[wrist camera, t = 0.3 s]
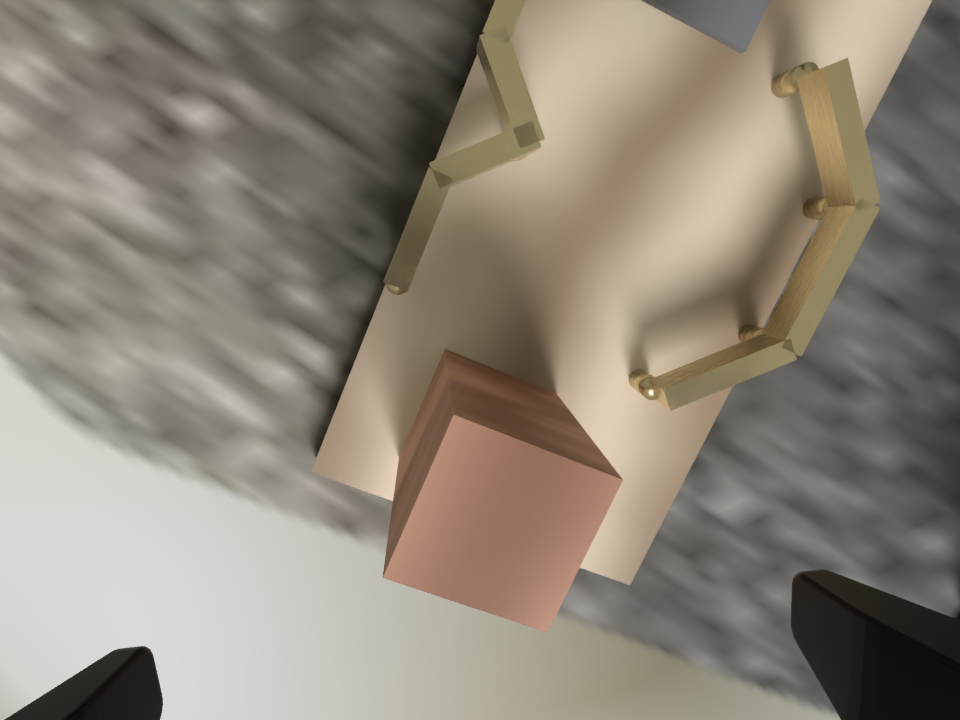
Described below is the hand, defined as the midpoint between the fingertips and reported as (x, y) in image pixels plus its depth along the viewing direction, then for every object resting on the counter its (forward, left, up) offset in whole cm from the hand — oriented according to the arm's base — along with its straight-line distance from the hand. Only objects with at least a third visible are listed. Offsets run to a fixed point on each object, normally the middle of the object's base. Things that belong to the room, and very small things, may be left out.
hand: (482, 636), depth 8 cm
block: (-1, 0, -12) cm, 12 cm away
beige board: (-3, -8, -13) cm, 15 cm away
